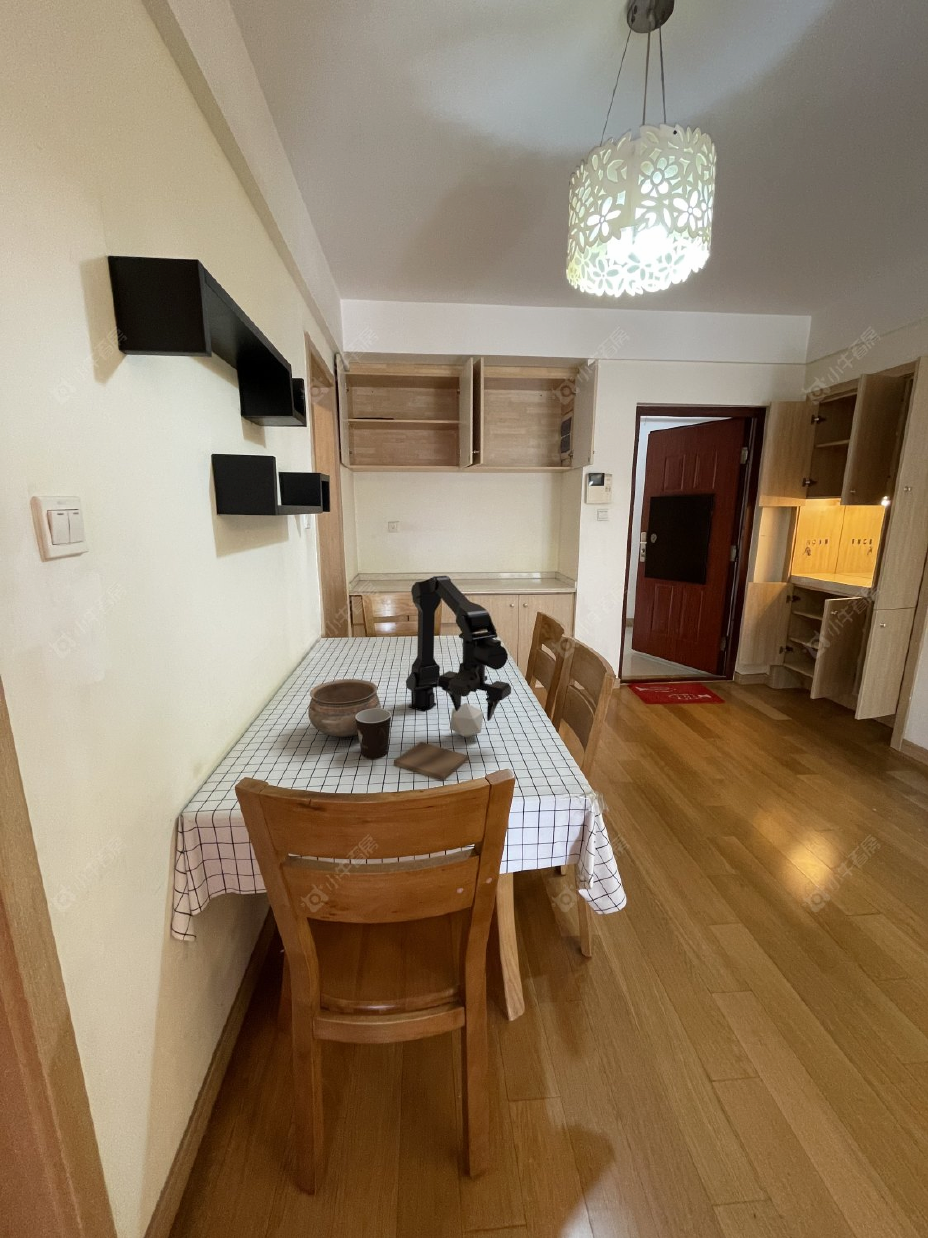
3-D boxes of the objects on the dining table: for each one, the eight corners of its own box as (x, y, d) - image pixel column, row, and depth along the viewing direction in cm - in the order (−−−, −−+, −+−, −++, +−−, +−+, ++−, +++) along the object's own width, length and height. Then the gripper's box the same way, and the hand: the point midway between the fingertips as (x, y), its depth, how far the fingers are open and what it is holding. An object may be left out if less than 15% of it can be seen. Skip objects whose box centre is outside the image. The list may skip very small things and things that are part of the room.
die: (489, 738, 128) (490, 703, 126) (463, 749, 123) (463, 712, 120) (469, 727, 135) (469, 694, 132) (443, 737, 129) (443, 702, 127)
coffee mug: (359, 745, 124) (357, 709, 122) (393, 744, 125) (392, 707, 123) (353, 768, 113) (351, 729, 111) (390, 767, 114) (389, 727, 111)
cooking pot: (332, 712, 145) (329, 673, 142) (393, 716, 142) (392, 676, 139) (291, 752, 121) (287, 706, 118) (363, 757, 118) (361, 711, 115)
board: (394, 765, 115) (394, 760, 114) (421, 746, 124) (420, 741, 124) (443, 781, 108) (443, 776, 107) (468, 760, 117) (468, 755, 117)
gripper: (424, 660, 119) (425, 719, 122) (491, 674, 110) (490, 737, 113) (449, 649, 128) (449, 704, 132) (512, 661, 119) (511, 720, 122)
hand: (473, 716), depth 124 cm, fingers open, 9 cm apart
